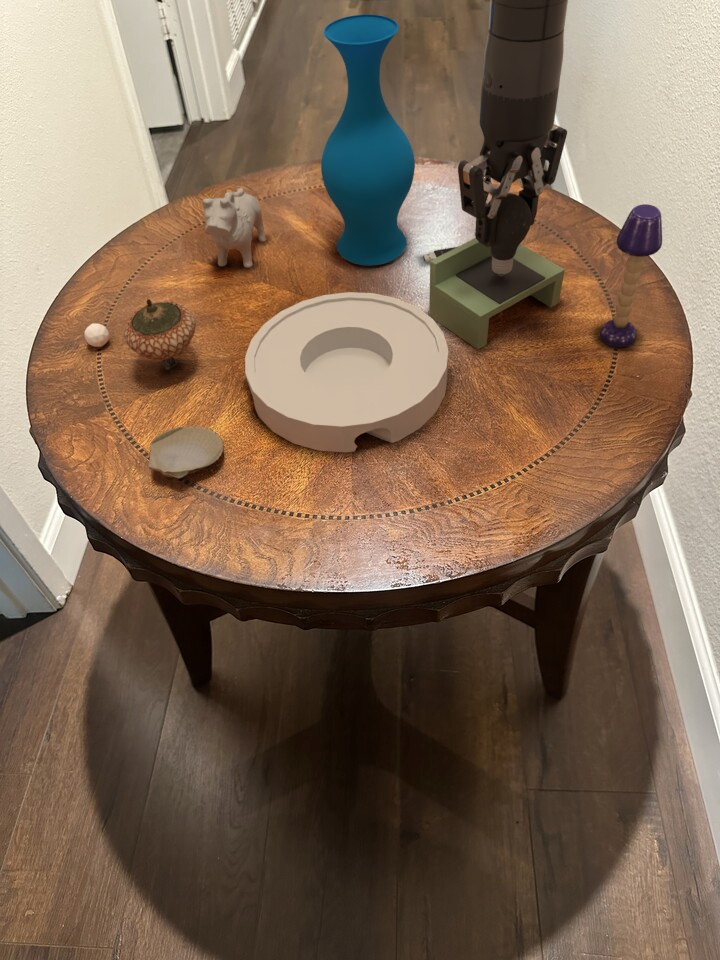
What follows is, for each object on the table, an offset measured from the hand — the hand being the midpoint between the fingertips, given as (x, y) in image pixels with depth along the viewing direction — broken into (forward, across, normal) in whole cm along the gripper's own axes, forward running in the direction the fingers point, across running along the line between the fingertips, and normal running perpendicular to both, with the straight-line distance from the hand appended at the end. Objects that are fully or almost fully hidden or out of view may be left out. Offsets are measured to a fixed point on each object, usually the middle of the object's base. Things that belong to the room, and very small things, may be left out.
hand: (505, 232), depth 86 cm
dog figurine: (+11, -18, +33) cm, 39 cm away
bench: (+11, 0, +1) cm, 11 cm away
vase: (+11, -3, +22) cm, 25 cm away
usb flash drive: (+11, +4, +13) cm, 18 cm away
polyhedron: (+11, -42, +28) cm, 52 cm away
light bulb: (+6, 0, 0) cm, 6 cm away
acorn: (+11, -37, +18) cm, 43 cm away
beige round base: (+11, -22, +2) cm, 25 cm away
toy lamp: (+11, +7, -13) cm, 18 cm away
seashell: (+11, -43, +3) cm, 45 cm away
